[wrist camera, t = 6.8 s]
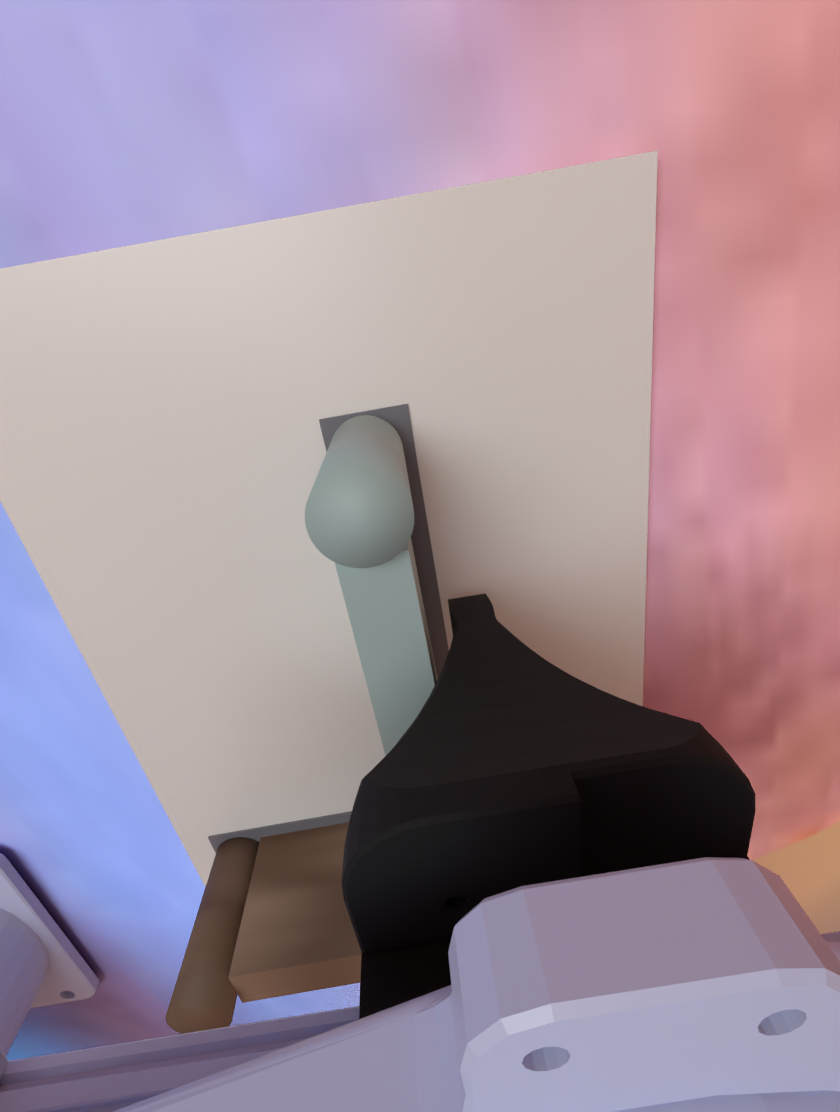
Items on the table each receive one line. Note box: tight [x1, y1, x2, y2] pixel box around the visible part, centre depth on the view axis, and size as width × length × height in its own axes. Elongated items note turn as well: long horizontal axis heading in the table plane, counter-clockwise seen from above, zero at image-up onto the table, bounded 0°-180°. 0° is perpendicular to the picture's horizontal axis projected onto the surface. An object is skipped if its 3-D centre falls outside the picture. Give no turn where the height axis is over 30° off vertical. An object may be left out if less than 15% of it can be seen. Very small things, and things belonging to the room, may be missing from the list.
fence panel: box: [305, 415, 438, 756], centre depth 12 cm, size 12×2×4 cm, turn 10°
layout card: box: [0, 151, 658, 887], centre depth 14 cm, size 15×20×1 cm
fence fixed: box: [166, 822, 362, 1034], centre depth 15 cm, size 9×2×6 cm, turn 99°
